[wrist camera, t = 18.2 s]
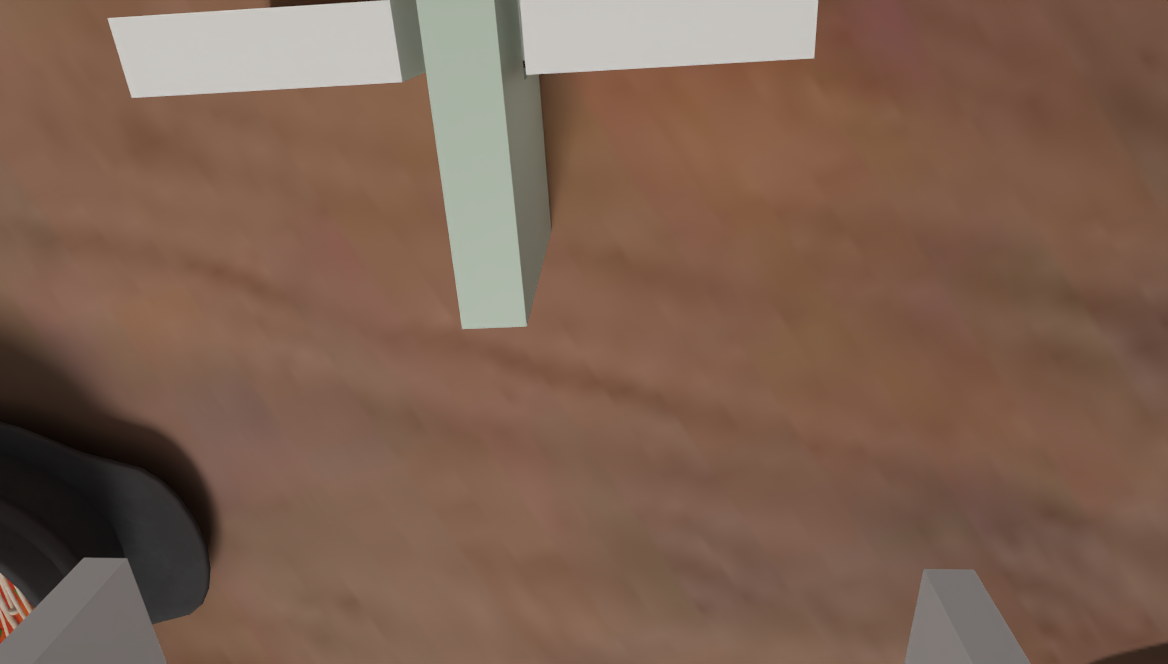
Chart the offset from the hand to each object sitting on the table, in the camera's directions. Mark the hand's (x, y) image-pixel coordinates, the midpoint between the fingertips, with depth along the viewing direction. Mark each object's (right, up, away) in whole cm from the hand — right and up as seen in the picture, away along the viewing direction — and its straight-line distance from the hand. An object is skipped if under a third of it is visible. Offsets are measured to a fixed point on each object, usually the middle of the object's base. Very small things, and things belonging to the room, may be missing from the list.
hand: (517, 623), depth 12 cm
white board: (-2, +19, +21) cm, 29 cm away
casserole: (-35, -7, +35) cm, 50 cm away
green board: (-2, +19, +21) cm, 29 cm away
